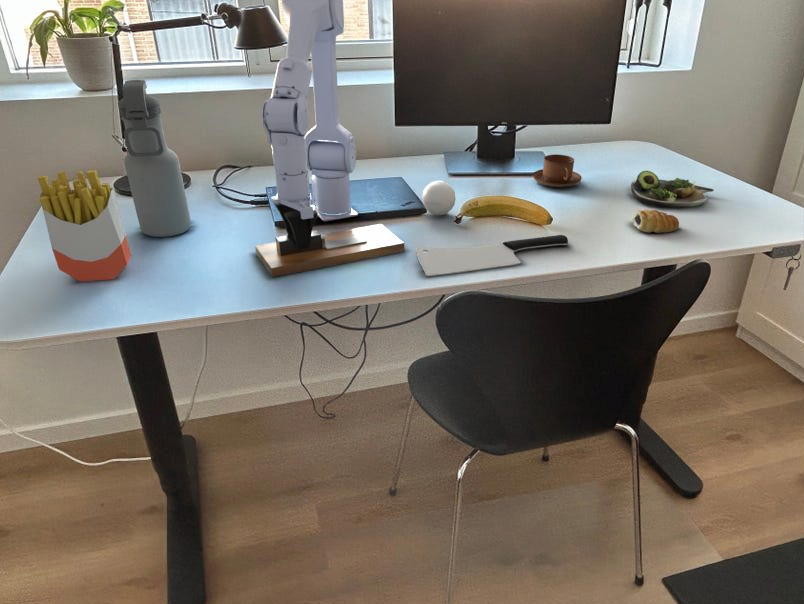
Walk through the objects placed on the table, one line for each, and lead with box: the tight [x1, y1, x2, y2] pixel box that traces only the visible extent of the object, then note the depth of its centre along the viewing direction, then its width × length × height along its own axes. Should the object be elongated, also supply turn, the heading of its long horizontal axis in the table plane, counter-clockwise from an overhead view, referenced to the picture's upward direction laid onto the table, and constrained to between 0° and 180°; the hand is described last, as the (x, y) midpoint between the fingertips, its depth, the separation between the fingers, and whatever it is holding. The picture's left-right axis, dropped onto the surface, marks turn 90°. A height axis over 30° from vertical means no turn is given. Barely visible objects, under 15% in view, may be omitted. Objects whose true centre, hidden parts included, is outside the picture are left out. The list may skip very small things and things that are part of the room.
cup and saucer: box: [532, 154, 583, 188], centre depth 163 cm, size 12×12×6 cm
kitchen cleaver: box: [415, 234, 569, 277], centre depth 126 cm, size 31×2×10 cm
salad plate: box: [630, 170, 715, 208], centre depth 157 cm, size 19×18×5 cm
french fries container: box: [37, 169, 132, 282], centre depth 111 cm, size 5×11×18 cm, turn 102°
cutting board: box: [254, 223, 405, 278], centre depth 126 cm, size 11×26×2 cm, turn 119°
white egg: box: [415, 180, 457, 216], centre depth 143 cm, size 10×7×7 cm
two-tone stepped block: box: [275, 229, 367, 256], centre depth 124 cm, size 4×17×3 cm, turn 119°
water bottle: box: [117, 79, 192, 238], centre depth 127 cm, size 10×10×28 cm
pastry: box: [632, 209, 680, 234], centre depth 140 cm, size 9×7×4 cm
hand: (299, 243), depth 122 cm, fingers open, 4 cm apart
